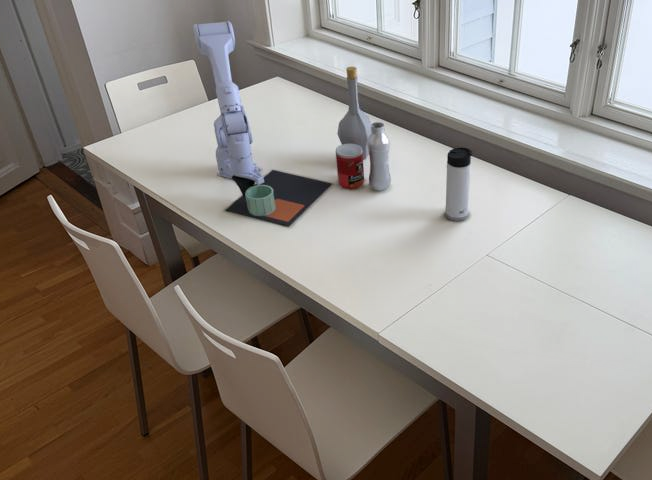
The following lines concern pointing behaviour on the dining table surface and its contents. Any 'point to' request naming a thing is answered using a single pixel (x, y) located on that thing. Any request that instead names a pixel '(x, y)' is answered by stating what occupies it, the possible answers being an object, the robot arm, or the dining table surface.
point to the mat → (285, 197)
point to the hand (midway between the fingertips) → (248, 197)
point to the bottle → (354, 118)
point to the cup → (260, 200)
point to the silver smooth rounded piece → (378, 157)
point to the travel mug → (458, 183)
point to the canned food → (350, 166)
